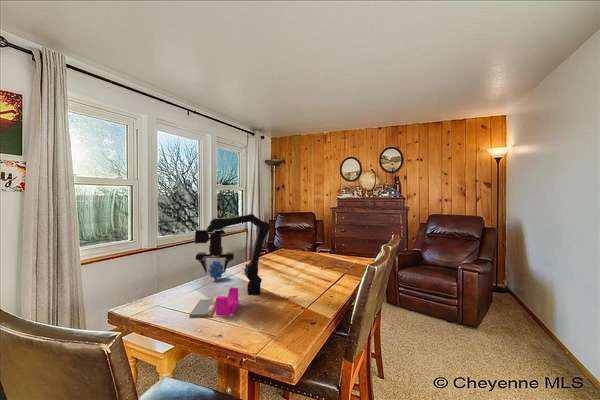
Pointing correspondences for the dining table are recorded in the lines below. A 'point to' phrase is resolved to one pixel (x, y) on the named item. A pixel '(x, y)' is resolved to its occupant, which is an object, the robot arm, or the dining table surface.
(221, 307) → the toy block
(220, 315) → the leaf pad
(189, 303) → the dining table surface
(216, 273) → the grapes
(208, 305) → the hinge leaf
